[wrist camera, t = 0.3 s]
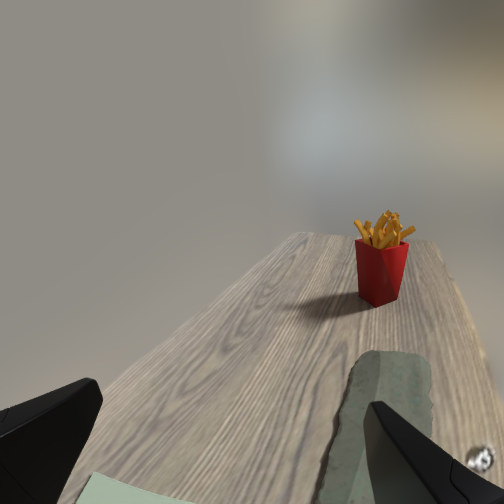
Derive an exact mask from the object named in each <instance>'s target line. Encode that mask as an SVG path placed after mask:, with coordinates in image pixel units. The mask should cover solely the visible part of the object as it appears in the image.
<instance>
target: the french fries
mask: <svg viewBox="0 0 504 504" xmlns="http://www.w3.org/2000/svg"><path fill="white" fill-rule="evenodd" d="M390 216H391V220H388V219H389V218H390ZM398 217H399V215H398V214H397V213H395V214H392V213H391V212H390V211H389V210H388V211H387V212H386V213H385V214H382V216H381V217H380V218H379V220H378V222H377V223H376V225H375V227H374V230H373V229H372V228H370V227H371V222H370V221H367V220H366V221H365V225H364V226H363V225H362V224H361V222H360V221H359V219H358V220H355V221H354V224H355V226H356V227H357V228H358V230H359V232H360V233H361V235H362V239H359V240H355V247H356V259H357V273H358V290H359V296H360V297H361V298H363V299H364V300H366V301H367V302H368V303H370V304H371V305H373V306H374V307H379V306H382V305H384V304H387V303H390V302H392V301H395V300H397V297H398V293H399V289H400V285H401V281H402V276H403V272H404V267H405V262H406V258H407V252H408V247H409V244H408V243H405V242H403V241H400V240H401V239H403V238H404V237H406V236H407V235H409V234H411V233H413V232H414V231H415V228H414V226H411V227H409V228H408V229H406V230H404V231H403V232H401V233H400V230H401V229H402V225H400V224H399V218H398ZM387 220H388V223H387V226H386V228H384V226H385V224H386V222H387ZM393 228H394V231H393ZM369 235H370V236H371V237H369Z"/></svg>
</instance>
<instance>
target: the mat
mask: <svg viewBox="0 0 504 504" xmlns="http://www.w3.org/2000/svg"><path fill="white" fill-rule="evenodd" d="M76 504H196V503H191V502H186V501H182V500H178V499H174V498H170V497H166V496H162V495H159V494H155V493H152V492H149V491H146V490H142V489H139V488H136V487H133V486H130V485H128V484H125V483H122V482H119V481H117V480H114V479H112V478H109V477H107V476H104V475H102V474H100V473H97V472H95V471H94V473H93V474H92V476H91V478H90V480H89V481H88V483H87V485H86V486H85V488H84V490H83V492H82V493H81V495H80V497H79V499H78V500H77V502H76Z"/></svg>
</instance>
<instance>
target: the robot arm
mask: <svg viewBox="0 0 504 504" xmlns="http://www.w3.org/2000/svg"><path fill="white" fill-rule="evenodd" d="M102 403H103V397H102V394H101V391H100V389H99V386H98V383H97V382H96V380H94V379H91V378H83V379H81V380H78V381H76V382H73V383H71V384H69V385H66V386H64V387H61V388H59V389H56V390H54V391H51V392H49V393H46V394H44V395H41V396H39V397H36V398H34V399H31V400H28V401H26V402H23V403H21V404H18V405H15V406H12V407H10V408H7V409H4V410H2V411H0V504H57V502H58V500H59V497H60V495H61V493H62V491H63V489H64V487H65V484H66V482H67V480H68V478H69V476H70V474H71V472H72V470H73V468H74V466H75V464H76V462H77V460H78V458H79V456H80V454H81V452H82V450H83V448H84V446H85V444H86V442H87V440H88V438H89V436H90V433H91V431H92V429H93V426H94V423H95V421H96V418H97V416H98V413H99V410H100V408H101V405H102ZM363 429H364V438H365V448H366V459H367V466H368V472H369V476H370V481H371V486H372V490H373V495H374V500H375V504H504V489H502V488H500V487H498V486H496V485H494V484H493V483H491V482H489V481H487V480H485V479H484V478H482V477H480V476H479V475H477V474H475V473H474V472H472V471H471V470H469V469H468V468H467V467H465V466H464V465H462V464H461V463H460V462H458V461H457V460H456V459H453V457H452V456H451V455H449V454H448V453H447V452H445V451H444V450H443V449H442V448H440V447H439V446H438V445H437V444H435V443H434V442H433V441H432V440H430V439H429V438H428V437H427V436H425V435H424V434H423V433H422V432H420V431H419V430H418V429H417V428H415V427H414V426H413V425H412V424H410V423H409V422H408V421H407V420H405V419H404V418H403V417H402V416H401V415H399V414H398V413H397V412H396V411H394V410H393V409H392V408H391V407H390V406H388V405H387V404H386V403H385V402H384V401H372V402H370V403H369V404H368V407H367V410H366V414H365V417H364V420H363Z"/></svg>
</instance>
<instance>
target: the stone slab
mask: <svg viewBox="0 0 504 504" xmlns="http://www.w3.org/2000/svg"><path fill="white" fill-rule="evenodd" d="M349 376H350V378H349V382H350V383H349V385H348V389H347V396H346V398H345V401H344V404H343V406H342V408H341V410H340V413H339V423H340V425H339V428H338V431H337V436H336V437H335V439H334V441H333V444H332V446H331V449H330V452H329V458H328V466H327V468H326V474H325V476H324V478H323V480H322V486H321V488H320V490H319V492H318V494H317V498H316V499H317V500H315V502H314V504H375V500H374V495H373V490H372V486H371V481H370V476H369V472H368V466H367V459H366V448H365V438H364V429H363V420H364V417H365V414H366V410H367V407H368V404H369V403H370V402H372V401H384V402H385V403H386V404H387V405H388V406H390V407H391V408H392V409H393V410H394V411H396V412H397V413H398V414H399V415H401V416H402V417H403V418H404V419H405V420H407V421H408V422H409V423H410V424H412V425H413V426H414V427H415V428H417V429H418V430H419V431H420V432H422V433H423V434H424V435H425V436H427V437H428V438H430V437H431V435H432V420H433V416H432V411H431V409H432V406H433V403H432V402H431V399H430V397H429V395H428V394H429V391H430V389H431V386H432V385H431V370H430V365H429V363H428V362H427V361H426V360H425V358H424V357H422V356H421V355H419V354H414V353H404V352H396V351H374V350H371V351H368V352H365V353H364V354H362V355H361V356H360V358H359V359H358V360H357V361H356V362H355V366H353V367H352V368H351V373H350V375H349Z"/></svg>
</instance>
